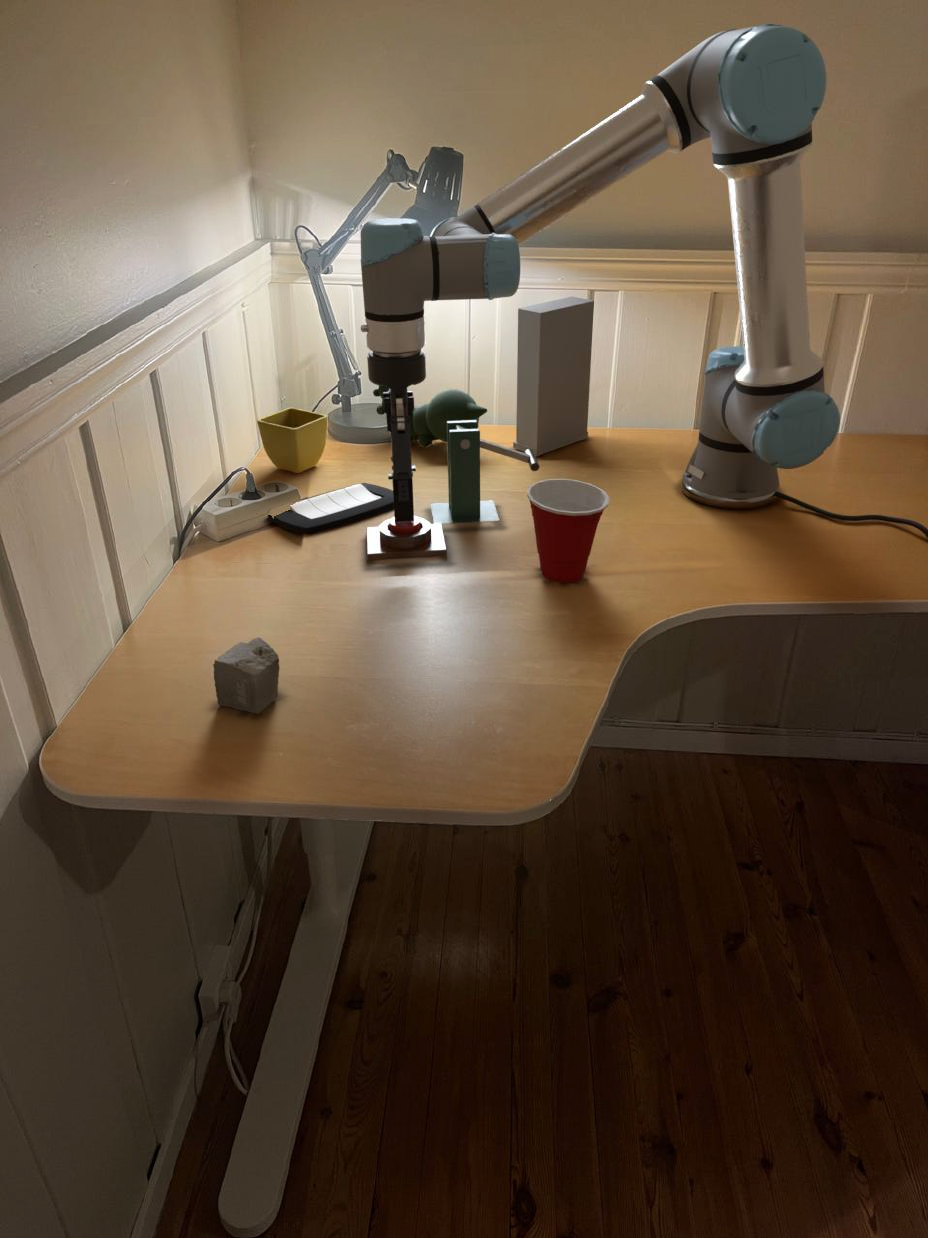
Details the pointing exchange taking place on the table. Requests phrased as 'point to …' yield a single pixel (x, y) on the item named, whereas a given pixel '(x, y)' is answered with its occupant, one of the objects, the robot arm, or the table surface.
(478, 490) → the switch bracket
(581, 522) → the plastic cup
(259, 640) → the mineral specimen
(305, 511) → the light switch
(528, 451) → the switch lever
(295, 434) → the flower pot
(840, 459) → the table surface
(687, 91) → the robot arm
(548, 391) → the tall grey upright slab
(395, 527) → the button
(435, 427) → the toy figurine
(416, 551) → the button block
